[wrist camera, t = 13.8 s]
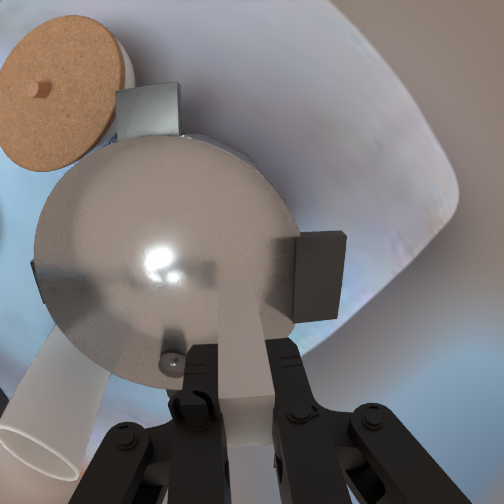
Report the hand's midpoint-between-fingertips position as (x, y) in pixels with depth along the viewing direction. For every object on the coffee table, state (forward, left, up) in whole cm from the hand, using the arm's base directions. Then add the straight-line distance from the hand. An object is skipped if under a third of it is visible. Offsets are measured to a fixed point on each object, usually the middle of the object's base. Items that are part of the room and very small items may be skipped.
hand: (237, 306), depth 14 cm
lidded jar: (-11, +12, -14) cm, 21 cm away
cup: (-18, -14, -14) cm, 26 cm away
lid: (-3, 0, -3) cm, 4 cm away
